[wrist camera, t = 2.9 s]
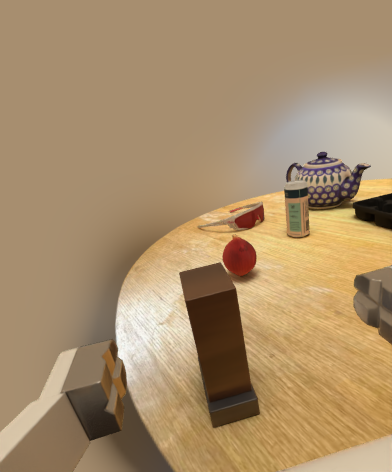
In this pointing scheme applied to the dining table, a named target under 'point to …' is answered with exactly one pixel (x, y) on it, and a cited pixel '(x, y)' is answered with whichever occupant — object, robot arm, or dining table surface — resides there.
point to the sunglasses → (242, 217)
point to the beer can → (297, 208)
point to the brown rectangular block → (219, 343)
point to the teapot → (328, 181)
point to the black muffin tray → (375, 210)
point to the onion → (239, 256)
